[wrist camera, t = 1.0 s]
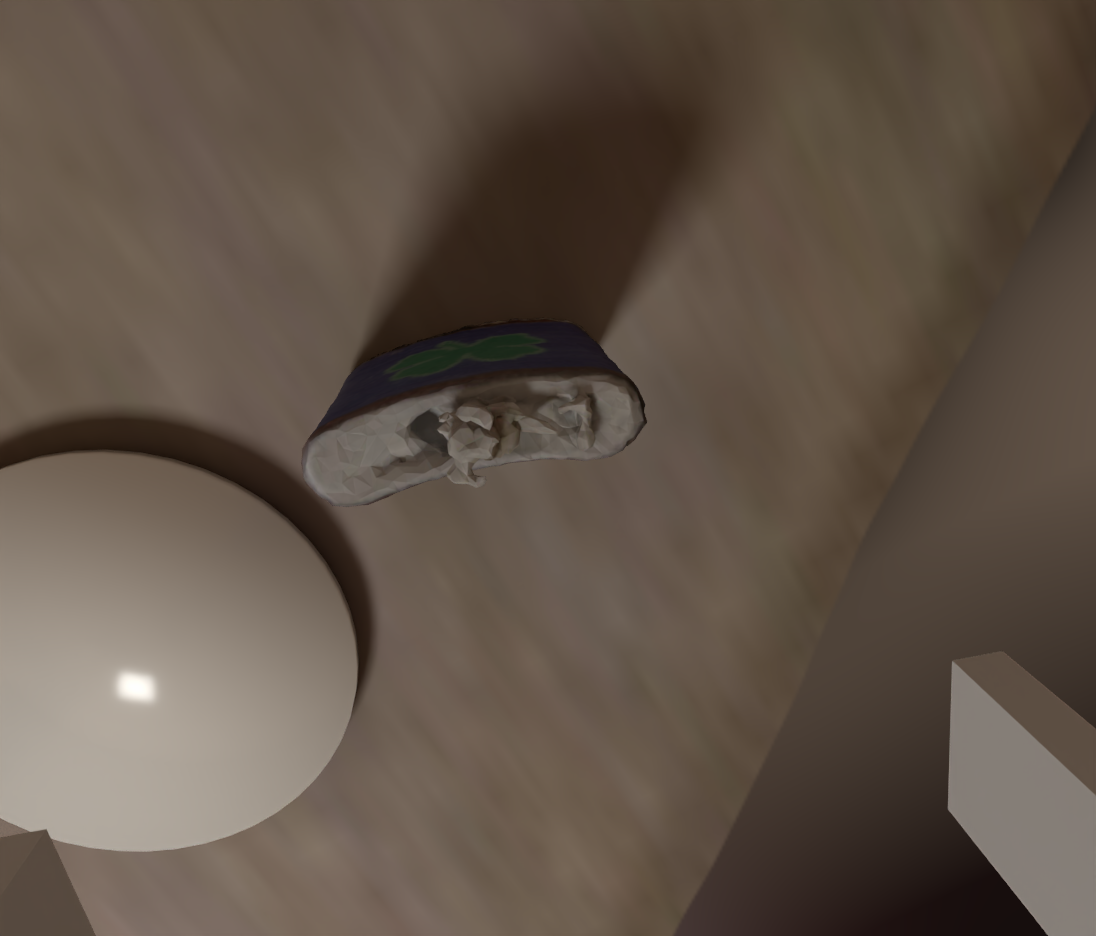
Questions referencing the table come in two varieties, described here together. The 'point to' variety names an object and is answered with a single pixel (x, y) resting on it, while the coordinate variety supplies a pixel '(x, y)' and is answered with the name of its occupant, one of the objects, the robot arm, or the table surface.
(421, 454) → the blue hip flask
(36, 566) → the plate
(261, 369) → the table surface
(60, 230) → the table surface
